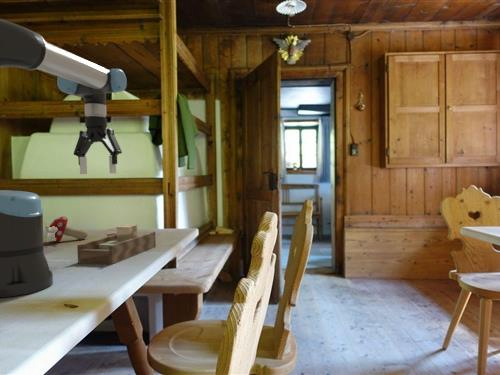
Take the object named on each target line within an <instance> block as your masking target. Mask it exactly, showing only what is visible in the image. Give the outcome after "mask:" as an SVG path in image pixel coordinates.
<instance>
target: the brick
mask: <svg viewBox="0 0 500 375" xmlns="http://www.w3.org/2000/svg"><path fill="white" fill-rule="evenodd" d="M116 234H117V228H116V227H112V228H109V230H108V231H107V234H106V237H109V236H112V235H116Z"/></svg>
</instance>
